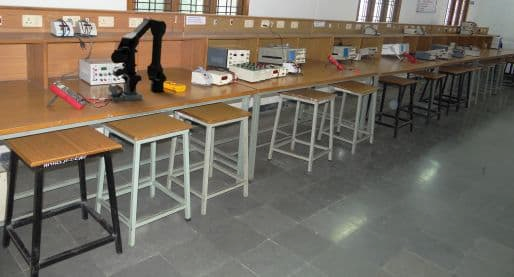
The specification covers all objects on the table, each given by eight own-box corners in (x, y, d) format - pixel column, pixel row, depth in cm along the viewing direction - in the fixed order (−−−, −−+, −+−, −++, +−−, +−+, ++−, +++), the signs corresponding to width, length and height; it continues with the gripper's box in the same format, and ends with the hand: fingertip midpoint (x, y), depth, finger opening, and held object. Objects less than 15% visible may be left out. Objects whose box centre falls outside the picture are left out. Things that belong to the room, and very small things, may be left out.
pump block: (133, 92, 225) (132, 79, 222) (136, 95, 221) (136, 80, 218) (123, 93, 222) (123, 79, 219) (126, 95, 218) (126, 81, 216)
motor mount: (135, 95, 228) (135, 81, 226) (142, 99, 221) (142, 85, 218) (107, 97, 220) (106, 83, 217) (113, 101, 212) (112, 86, 210)
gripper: (108, 59, 219) (109, 88, 223) (119, 65, 204) (120, 96, 209) (129, 58, 225) (130, 87, 230) (141, 64, 210) (142, 95, 215)
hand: (130, 91), depth 221 cm, fingers closed on pump block, 5 cm apart
